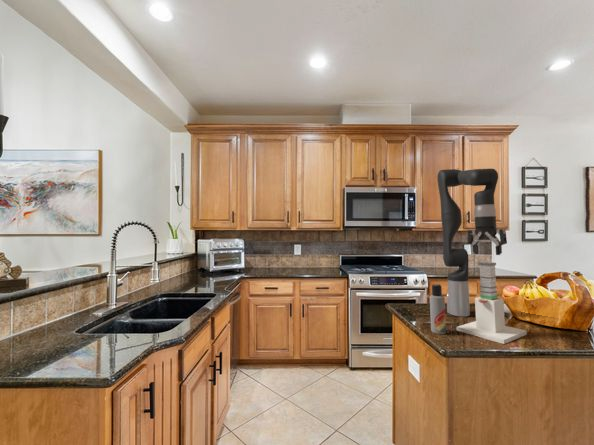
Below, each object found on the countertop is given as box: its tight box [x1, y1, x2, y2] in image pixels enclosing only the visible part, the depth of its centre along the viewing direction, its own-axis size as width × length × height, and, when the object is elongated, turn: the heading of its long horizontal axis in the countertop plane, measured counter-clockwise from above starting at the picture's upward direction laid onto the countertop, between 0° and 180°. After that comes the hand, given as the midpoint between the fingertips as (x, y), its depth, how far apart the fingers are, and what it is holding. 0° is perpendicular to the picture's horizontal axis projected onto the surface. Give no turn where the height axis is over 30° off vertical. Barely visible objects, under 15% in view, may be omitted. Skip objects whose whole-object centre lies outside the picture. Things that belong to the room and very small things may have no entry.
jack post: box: [477, 261, 498, 300], centre depth 119 cm, size 5×5×20 cm
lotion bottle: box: [429, 283, 447, 335], centre depth 121 cm, size 6×6×20 cm
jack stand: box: [456, 296, 528, 345], centre depth 119 cm, size 18×18×14 cm
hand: (486, 254), depth 119 cm, fingers open, 8 cm apart
